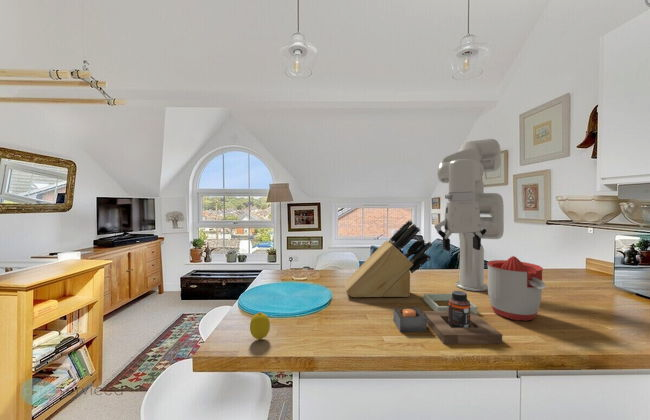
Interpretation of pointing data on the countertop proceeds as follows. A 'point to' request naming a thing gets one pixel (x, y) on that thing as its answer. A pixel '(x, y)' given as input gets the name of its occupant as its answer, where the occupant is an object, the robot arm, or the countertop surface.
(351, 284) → the knife block
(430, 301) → the ring
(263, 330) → the lemon
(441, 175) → the robot arm
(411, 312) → the button
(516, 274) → the citrus juicer
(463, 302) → the supplement bottle
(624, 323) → the countertop surface
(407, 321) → the button housing
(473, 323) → the square frame
